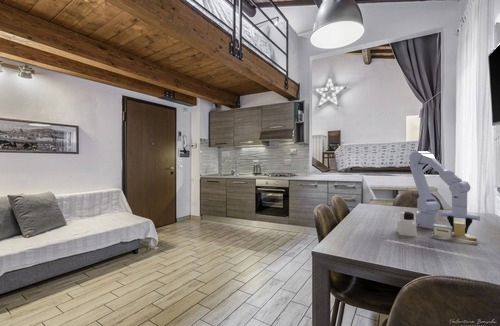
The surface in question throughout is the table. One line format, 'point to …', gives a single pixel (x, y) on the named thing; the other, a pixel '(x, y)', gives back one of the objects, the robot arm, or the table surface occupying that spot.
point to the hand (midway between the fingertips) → (459, 232)
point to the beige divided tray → (460, 238)
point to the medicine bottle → (406, 224)
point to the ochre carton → (459, 228)
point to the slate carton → (442, 230)
